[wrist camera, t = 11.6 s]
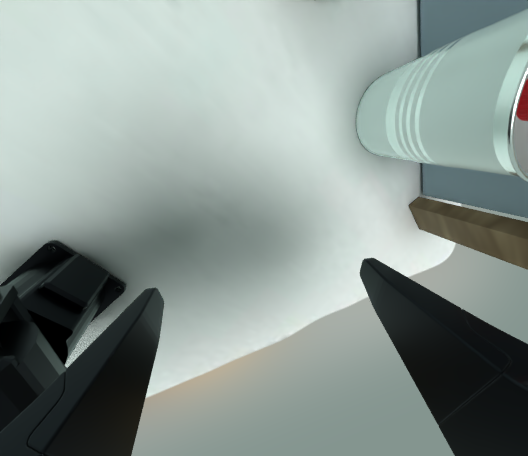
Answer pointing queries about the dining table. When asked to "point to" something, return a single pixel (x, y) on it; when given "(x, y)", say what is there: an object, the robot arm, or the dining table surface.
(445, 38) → the door
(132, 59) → the dining table surface
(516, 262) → the door frame
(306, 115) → the dining table surface
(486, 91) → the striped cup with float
